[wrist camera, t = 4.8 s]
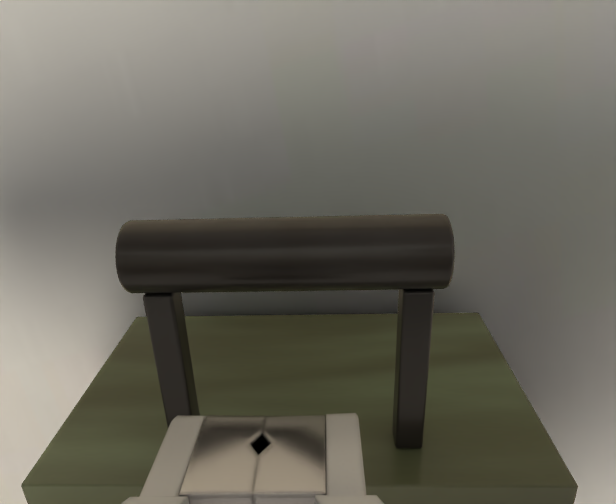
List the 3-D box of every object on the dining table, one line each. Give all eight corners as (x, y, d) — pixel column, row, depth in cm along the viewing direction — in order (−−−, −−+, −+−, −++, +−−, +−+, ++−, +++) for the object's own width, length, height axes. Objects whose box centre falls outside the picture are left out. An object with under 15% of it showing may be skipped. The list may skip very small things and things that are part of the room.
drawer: (105, 160, 14) (-67, 251, 8) (498, 150, 14) (643, 237, 7) (188, 577, 22) (133, 793, 15) (445, 579, 21) (497, 803, 15)
